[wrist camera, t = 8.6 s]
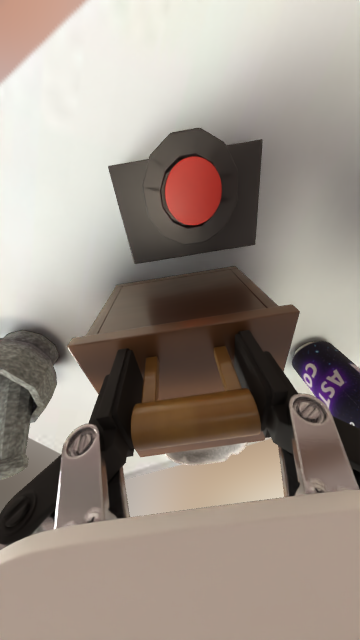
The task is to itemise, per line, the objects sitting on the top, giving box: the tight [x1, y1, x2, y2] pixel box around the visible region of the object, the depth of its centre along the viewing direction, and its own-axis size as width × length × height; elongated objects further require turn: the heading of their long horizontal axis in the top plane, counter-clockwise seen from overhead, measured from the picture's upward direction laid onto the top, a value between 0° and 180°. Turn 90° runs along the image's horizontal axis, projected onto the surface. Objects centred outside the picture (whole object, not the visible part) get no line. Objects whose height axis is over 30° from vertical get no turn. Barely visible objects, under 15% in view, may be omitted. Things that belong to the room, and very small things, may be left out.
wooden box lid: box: [67, 304, 300, 457], centre depth 13 cm, size 15×13×5 cm
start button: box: [165, 156, 222, 225], centre depth 13 cm, size 4×4×2 cm
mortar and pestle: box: [0, 330, 59, 480], centre depth 19 cm, size 11×9×12 cm
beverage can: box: [292, 341, 360, 428], centre depth 22 cm, size 6×6×12 cm
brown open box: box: [86, 266, 278, 336], centre depth 20 cm, size 15×13×9 cm
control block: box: [108, 128, 262, 264], centre depth 15 cm, size 11×8×4 cm
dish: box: [166, 443, 248, 465], centre depth 32 cm, size 14×14×5 cm
